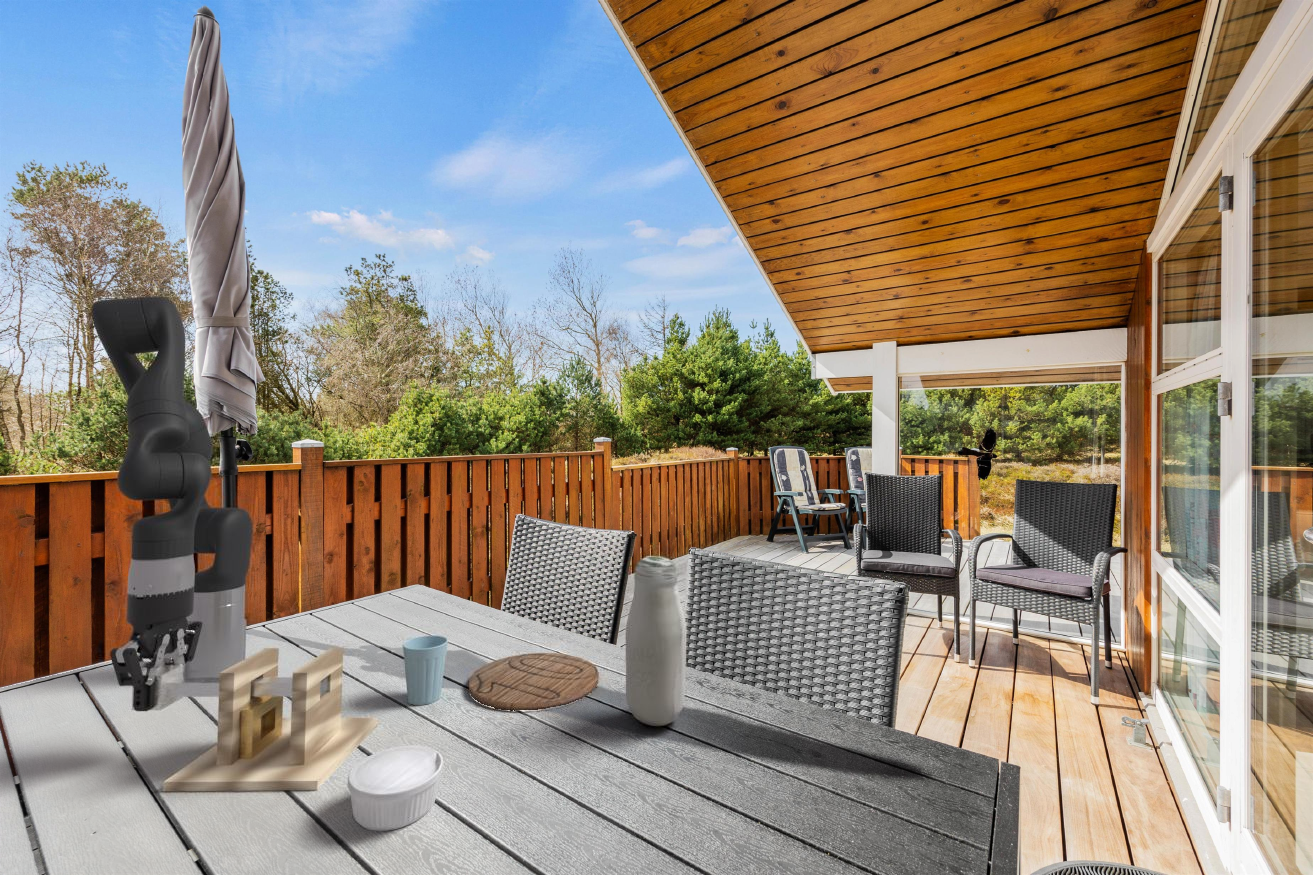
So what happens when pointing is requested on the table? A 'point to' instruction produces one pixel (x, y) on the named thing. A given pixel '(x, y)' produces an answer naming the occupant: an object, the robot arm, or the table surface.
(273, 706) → the spacer ring
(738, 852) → the table surface
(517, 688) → the trivet
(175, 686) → the shaft
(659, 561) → the glass bottle
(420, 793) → the ramekin
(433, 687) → the cup
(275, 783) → the bracket
